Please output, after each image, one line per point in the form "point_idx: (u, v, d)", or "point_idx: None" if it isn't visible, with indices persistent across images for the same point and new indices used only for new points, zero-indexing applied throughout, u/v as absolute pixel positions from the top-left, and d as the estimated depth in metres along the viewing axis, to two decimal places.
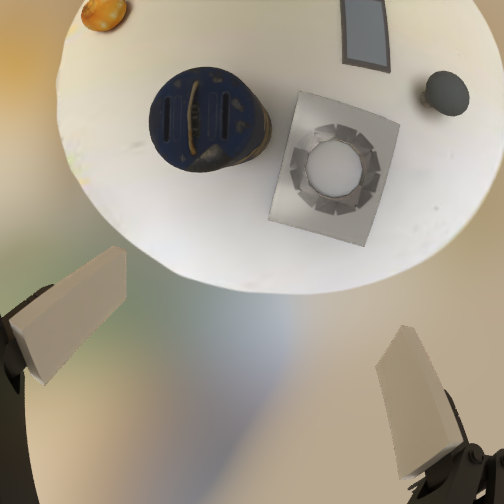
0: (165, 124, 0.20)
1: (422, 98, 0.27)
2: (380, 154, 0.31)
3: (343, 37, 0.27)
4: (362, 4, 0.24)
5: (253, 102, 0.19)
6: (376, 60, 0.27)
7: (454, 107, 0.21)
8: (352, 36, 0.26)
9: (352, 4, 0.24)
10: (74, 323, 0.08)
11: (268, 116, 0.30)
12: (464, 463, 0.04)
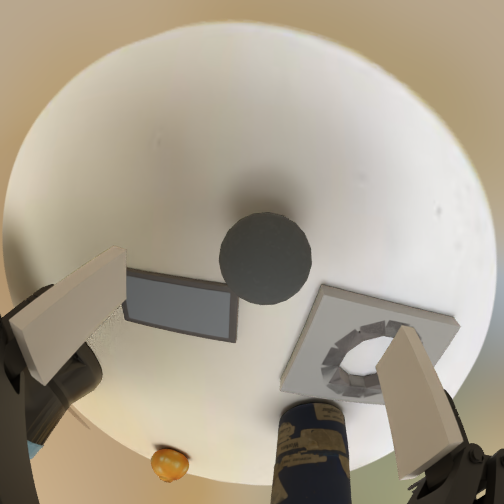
0: None
1: None
2: (364, 321, 0.24)
3: (197, 335, 0.29)
4: (137, 301, 0.29)
5: None
6: (223, 305, 0.27)
7: (299, 279, 0.16)
8: (192, 325, 0.29)
9: (142, 312, 0.29)
10: (74, 323, 0.08)
11: (307, 419, 0.28)
12: (464, 463, 0.04)
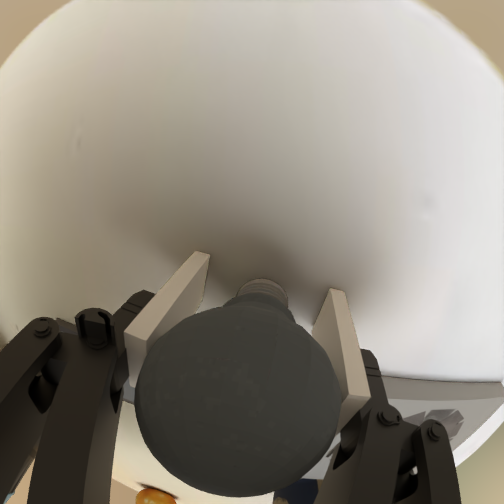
0: None
1: None
2: None
3: None
4: None
5: None
6: None
7: (308, 471, 0.05)
8: None
9: None
10: None
11: (307, 499, 0.18)
12: (373, 427, 0.06)
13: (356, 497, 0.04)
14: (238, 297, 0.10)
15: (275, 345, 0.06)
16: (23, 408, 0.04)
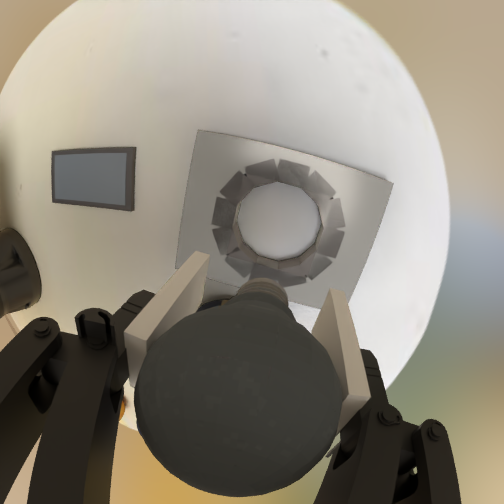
0: None
1: None
2: (248, 159, 0.22)
3: (102, 206, 0.28)
4: (62, 179, 0.27)
5: None
6: (121, 167, 0.26)
7: (309, 470, 0.05)
8: (98, 195, 0.27)
9: (64, 190, 0.28)
10: None
11: None
12: (373, 427, 0.06)
13: (356, 497, 0.04)
14: (238, 296, 0.10)
15: (276, 343, 0.06)
16: (23, 408, 0.04)
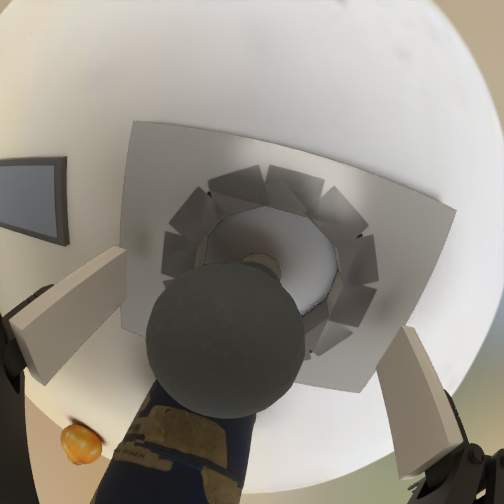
0: None
1: None
2: (214, 167, 0.13)
3: (35, 236, 0.18)
4: None
5: None
6: (49, 185, 0.16)
7: (273, 396, 0.08)
8: (30, 221, 0.18)
9: (1, 211, 0.18)
10: (74, 323, 0.08)
11: None
12: (464, 463, 0.04)
13: None
14: None
15: (247, 283, 0.08)
16: None
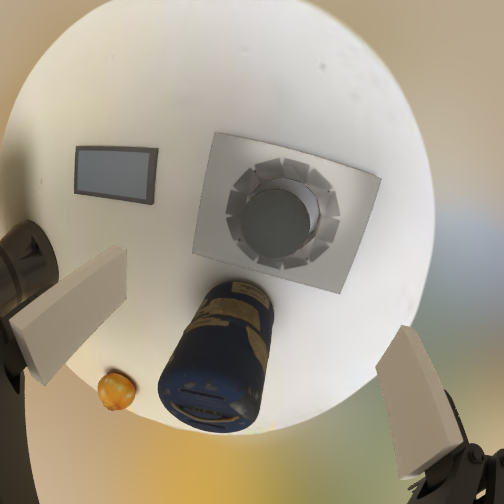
0: (211, 425, 0.21)
1: None
2: (258, 158, 0.27)
3: (123, 199, 0.32)
4: (85, 172, 0.31)
5: (187, 367, 0.20)
6: (144, 165, 0.30)
7: (301, 234, 0.22)
8: (120, 189, 0.32)
9: (87, 183, 0.32)
10: (74, 323, 0.08)
11: (221, 291, 0.31)
12: (464, 463, 0.04)
13: None
14: None
15: (287, 191, 0.22)
16: None
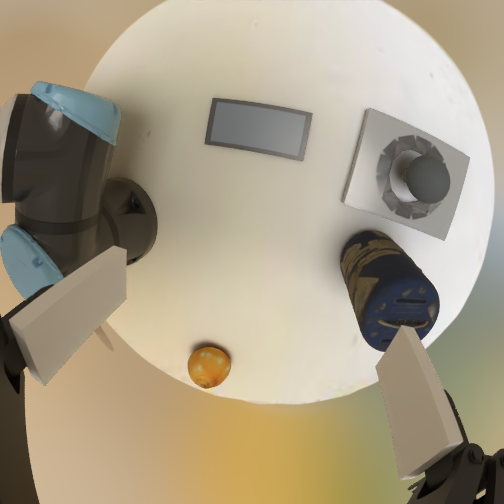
0: None
1: None
2: (400, 132, 0.30)
3: (272, 154, 0.35)
4: (224, 124, 0.35)
5: (403, 277, 0.23)
6: (299, 125, 0.33)
7: (449, 186, 0.25)
8: (269, 144, 0.35)
9: (225, 134, 0.35)
10: (74, 323, 0.08)
11: (370, 236, 0.34)
12: (464, 463, 0.04)
13: None
14: None
15: (436, 158, 0.26)
16: None
